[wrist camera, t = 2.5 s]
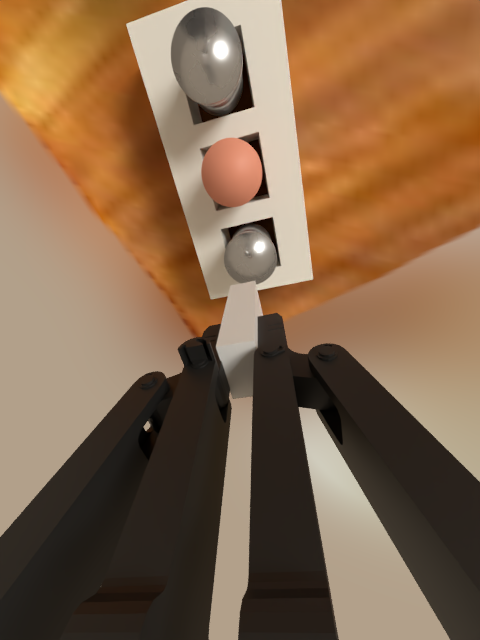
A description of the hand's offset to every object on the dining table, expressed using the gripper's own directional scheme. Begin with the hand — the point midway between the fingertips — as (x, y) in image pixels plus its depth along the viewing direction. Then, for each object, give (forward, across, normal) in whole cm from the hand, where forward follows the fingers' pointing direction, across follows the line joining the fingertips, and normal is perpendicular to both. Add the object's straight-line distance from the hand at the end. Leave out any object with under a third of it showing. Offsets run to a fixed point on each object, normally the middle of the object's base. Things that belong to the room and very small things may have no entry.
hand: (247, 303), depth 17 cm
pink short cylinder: (+15, 0, +7) cm, 17 cm away
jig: (+20, 0, +7) cm, 21 cm away
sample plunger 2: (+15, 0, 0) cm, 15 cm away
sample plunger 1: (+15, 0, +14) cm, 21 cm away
